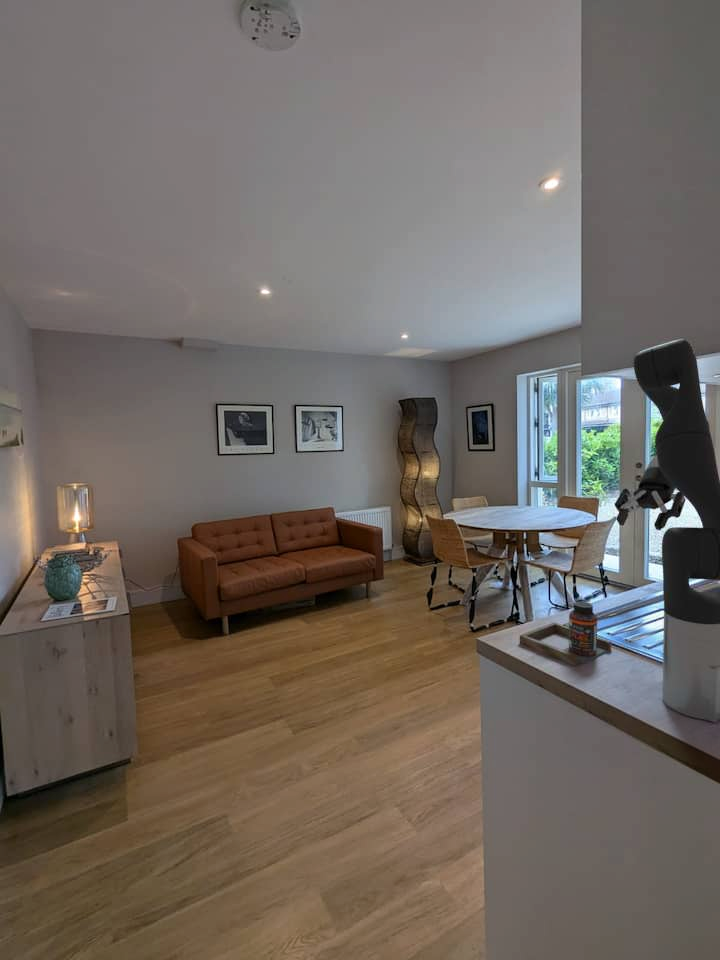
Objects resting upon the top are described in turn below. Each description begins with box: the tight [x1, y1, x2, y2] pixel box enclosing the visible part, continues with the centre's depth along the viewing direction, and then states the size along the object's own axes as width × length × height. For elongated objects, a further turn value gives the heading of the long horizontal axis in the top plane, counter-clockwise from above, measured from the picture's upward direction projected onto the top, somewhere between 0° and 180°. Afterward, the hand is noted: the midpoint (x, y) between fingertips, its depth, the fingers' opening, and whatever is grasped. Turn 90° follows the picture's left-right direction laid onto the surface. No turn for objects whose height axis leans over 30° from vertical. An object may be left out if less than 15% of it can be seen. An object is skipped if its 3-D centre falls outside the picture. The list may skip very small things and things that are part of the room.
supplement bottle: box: [568, 601, 598, 656], centre depth 106 cm, size 6×6×11 cm
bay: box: [519, 622, 612, 668], centre depth 110 cm, size 15×14×2 cm
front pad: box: [563, 647, 608, 665], centre depth 107 cm, size 6×10×1 cm, turn 122°
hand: (638, 525), depth 110 cm, fingers open, 8 cm apart
